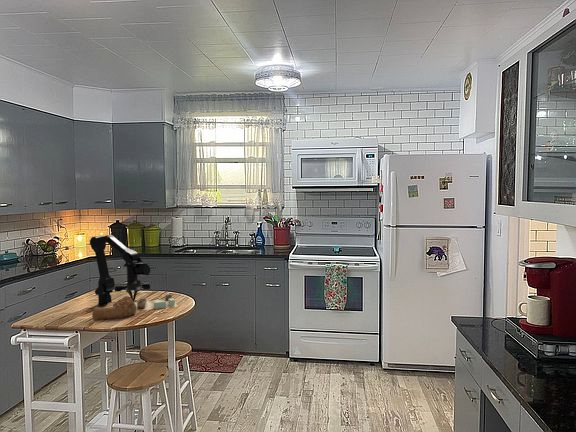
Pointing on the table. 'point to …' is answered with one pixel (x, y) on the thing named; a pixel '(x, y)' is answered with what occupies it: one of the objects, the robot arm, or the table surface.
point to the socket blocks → (164, 303)
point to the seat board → (150, 304)
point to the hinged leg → (141, 303)
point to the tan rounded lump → (116, 309)
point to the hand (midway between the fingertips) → (133, 302)
